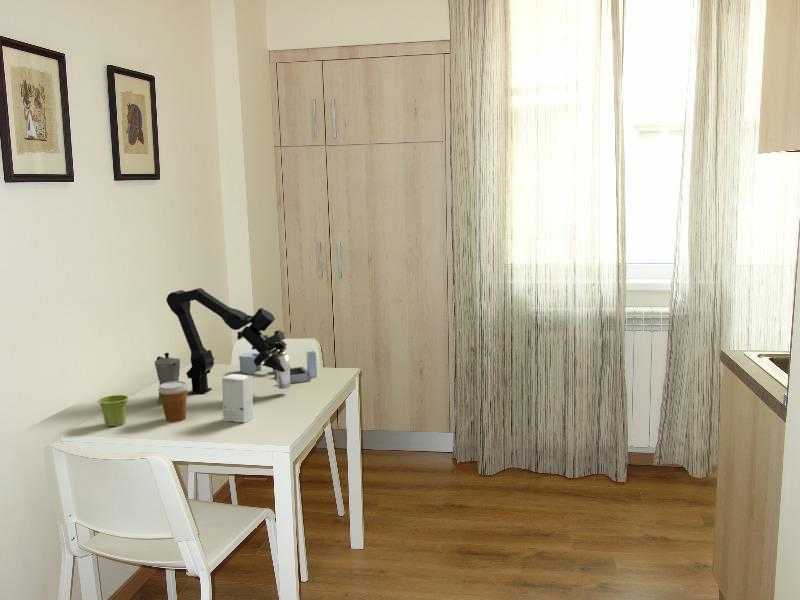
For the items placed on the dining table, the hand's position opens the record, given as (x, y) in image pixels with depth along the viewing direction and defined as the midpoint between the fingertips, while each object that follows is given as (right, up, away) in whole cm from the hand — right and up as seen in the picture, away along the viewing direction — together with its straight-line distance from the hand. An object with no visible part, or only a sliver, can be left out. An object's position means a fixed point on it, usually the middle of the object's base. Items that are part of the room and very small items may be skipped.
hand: (286, 369), depth 268 cm
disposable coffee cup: (-34, -15, -23) cm, 43 cm away
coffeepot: (-43, -11, -1) cm, 44 cm away
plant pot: (-53, -16, -26) cm, 61 cm away
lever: (-11, +2, +33) cm, 35 cm away
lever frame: (-16, -4, +36) cm, 39 cm away
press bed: (+1, -6, +23) cm, 24 cm away
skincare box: (-12, -14, -26) cm, 32 cm away
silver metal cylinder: (-1, -6, +1) cm, 7 cm away
